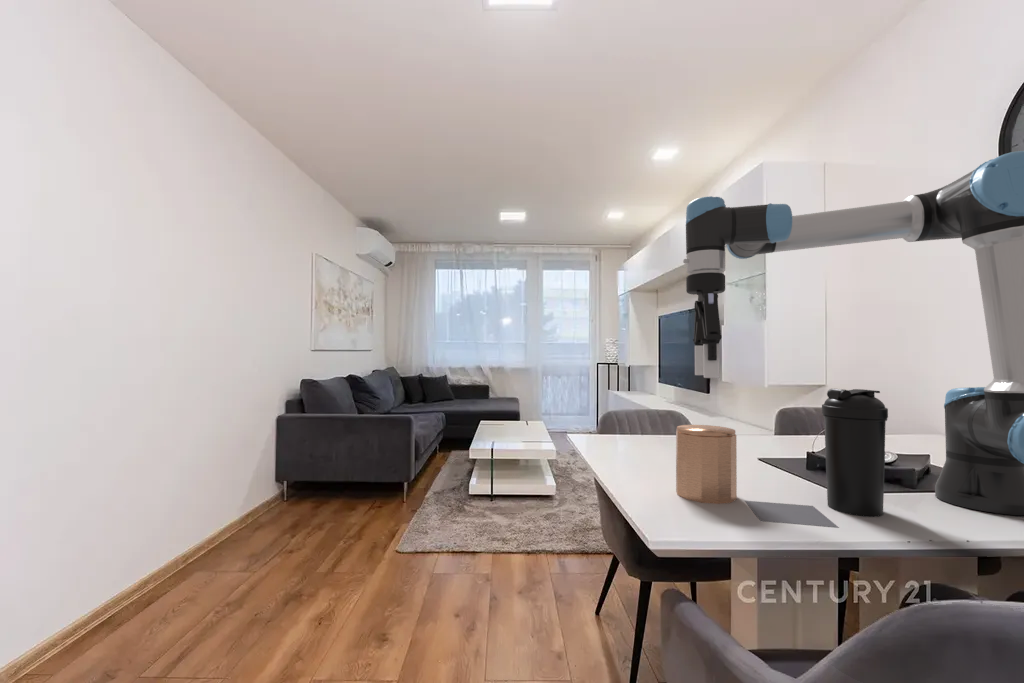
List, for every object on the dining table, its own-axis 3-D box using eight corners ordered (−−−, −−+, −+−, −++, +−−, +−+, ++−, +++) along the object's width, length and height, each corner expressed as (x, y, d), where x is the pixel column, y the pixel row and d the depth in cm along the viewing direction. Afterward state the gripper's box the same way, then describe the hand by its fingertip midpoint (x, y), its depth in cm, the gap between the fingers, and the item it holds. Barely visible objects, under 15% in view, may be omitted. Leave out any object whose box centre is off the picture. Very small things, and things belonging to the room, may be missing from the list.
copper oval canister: (729, 491, 103) (729, 426, 103) (741, 508, 92) (740, 434, 92) (674, 487, 105) (674, 423, 106) (679, 503, 94) (679, 431, 95)
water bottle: (904, 520, 86) (902, 391, 86) (849, 521, 85) (848, 391, 85) (859, 503, 96) (858, 387, 96) (810, 503, 95) (809, 387, 96)
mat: (812, 508, 92) (812, 505, 92) (838, 530, 80) (839, 527, 80) (744, 503, 95) (744, 500, 95) (760, 523, 83) (760, 520, 83)
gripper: (680, 283, 113) (681, 374, 112) (693, 263, 89) (694, 378, 88) (714, 282, 111) (715, 374, 110) (737, 261, 87) (738, 379, 86)
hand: (706, 376), depth 99 cm, fingers open, 13 cm apart
